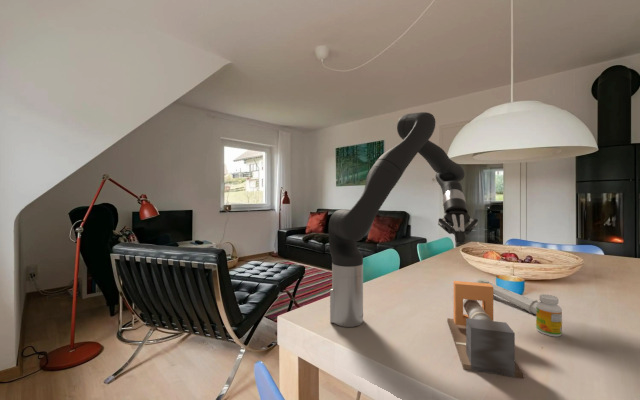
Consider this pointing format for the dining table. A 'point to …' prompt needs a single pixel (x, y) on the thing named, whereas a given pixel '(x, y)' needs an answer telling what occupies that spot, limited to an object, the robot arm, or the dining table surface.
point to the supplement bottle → (549, 316)
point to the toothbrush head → (513, 297)
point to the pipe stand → (485, 343)
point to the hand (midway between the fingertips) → (460, 242)
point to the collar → (471, 298)
